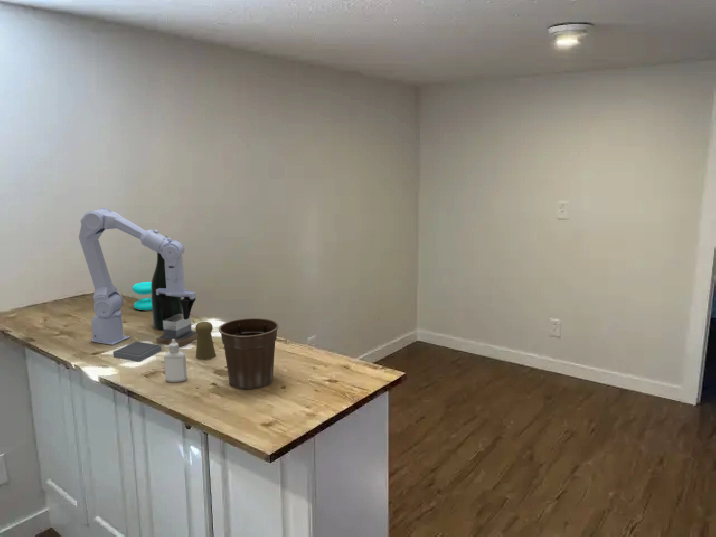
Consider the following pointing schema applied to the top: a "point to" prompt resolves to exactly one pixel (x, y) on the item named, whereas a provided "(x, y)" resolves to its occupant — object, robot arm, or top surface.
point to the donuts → (143, 289)
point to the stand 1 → (137, 351)
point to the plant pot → (249, 351)
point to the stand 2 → (180, 341)
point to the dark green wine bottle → (158, 282)
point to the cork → (204, 341)
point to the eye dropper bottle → (175, 364)
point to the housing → (176, 326)
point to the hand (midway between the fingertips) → (177, 317)
